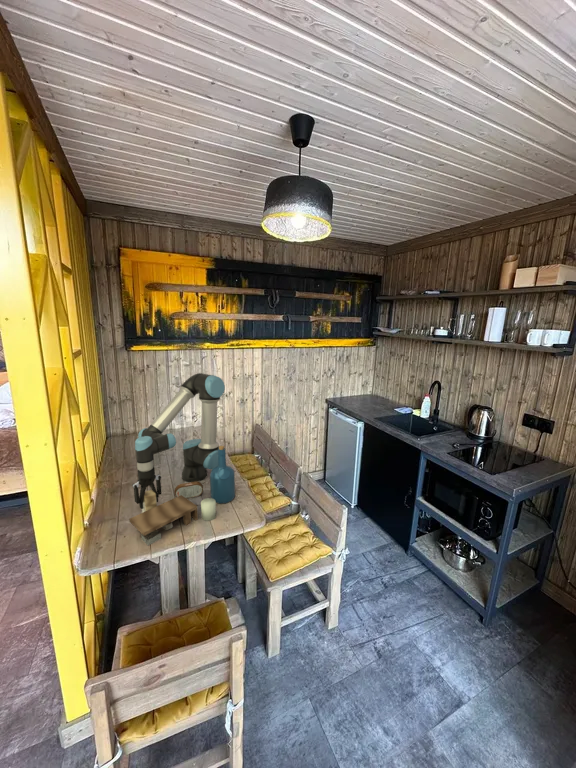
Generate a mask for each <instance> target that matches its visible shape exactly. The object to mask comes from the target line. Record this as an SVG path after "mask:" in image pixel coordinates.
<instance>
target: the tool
mask: <svg viewBox="0 0 576 768" xmlns="http://www.w3.org/2000/svg"><path fill="white" fill-rule="evenodd" d="M144 502H145V509H146V511H147V510H150V509H152V508H154V507H156V506H158V504H157V505H156V493H155V492H153V491H152V489H149V490H145V495H144ZM161 528H163V529H164V530H165V531H168V530H170V529H172V528H173V521H172V522H170V523H168V524H166V525H164V526H162V527H161Z"/></svg>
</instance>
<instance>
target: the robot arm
mask: <svg viewBox="0 0 576 768" xmlns="http://www.w3.org/2000/svg"><path fill="white" fill-rule="evenodd" d="M225 390H226V385H225V382H224V380H223V379H222V378H221V377H219V376H217V375H214V374H209V373H208V374H207V373H199V372H198V373H195V374H193V375H192V376H190V377H188V378H187V379H186V380H185V381H184V382H183V383H182V384H181V386H179V390H178V391H177V393H176V394H175V395H174V396H173V397H172V399H171V400H170V401H169V403H168V404H167V405H166V406H165V407H164V408H163V410H162V411H160V413H159V414H158V415H157V417H156V418H154V420H153V421H152V422H151V424H150V425H149V426H148V427H145V428H142V429H140V431H139V432H138V434H137V435H138V436H137V437H138V438H136V439H135V441H134V450H135V457H136V469H137V477H138V478H137V482H135V483H132V485H131V487H132V488H133V496H134V502H135V503H136V504H137V505H139V508H140V509H141V513H143V512H145V511H146V509H145V502H144V495H145V492H146V491H147V488H148V487H150V490H152V491H153V492H155V493H156V505H157V506H158V503H159V497H160V495H162V483H161V479H162V476H161V475H160V474H157V475H156V474H155V460H154V455H156V454H159V453H162V452H165V451H167V450H171V449H172V448H175V446H176V444H177V439H176V437H175V435H174V434H173V433H166V434H163V433H164V432H165V430H166V429H167V428H168V427H169V425H170V424H171V423H172V422H173V420H175V418H176V417H177V416H178V415H179V413H180V412H181V411H182V409H184V407H185V406H186V405H187V403H188V402H189V401H190V400H191V399H194V398H195V396H197V395H198V399H199V401H201V424H200V426H201V427H200V430H201V431H200V438H192V439H189V440H187V441H184V442H183V444H182V452H183V469H182V472H181V479H182V481H184V482H185V483H190V482H200V481H203V480H204V479H206V478H208V470H210V471H211V470H212V469H213V468H215V467H216V466H218V455H217V454H218V449H219V446H220V444H219V443H218V442H217V430H218V428H217V426H218V425H217V424H218V402H219V401H220V400H221V397H222V396H223V394H224V392H225ZM207 469H208V470H207ZM154 482H155V483H154ZM139 485H140V491H139ZM155 485H156V486H155Z"/></svg>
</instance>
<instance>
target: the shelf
mask: <svg viewBox="0 0 576 768" xmlns="http://www.w3.org/2000/svg"><path fill="white" fill-rule="evenodd" d="M198 514H199V513H198V505H197V504H195V503H194V502H193V501H190V500H189V498H187V499H186V498H185V497H184V496H182V495H180V496H178V497H176V496H175V497H174V498H172V499H170V500H167V501H165V502H164V503H161V504H159V505H158V504H157V506H156V507H154V508H152V509H150V510H147V511H145V512H143V513H142V512H141V513H139V514H136V515H135V516H133V517H130V518H129V519H128V520H129V523H130V524H132V526H133V527H134V528H135V529H136V530H137V531H139V532H140V534H143V535H144V536H145V535H147V534H149V533H151V532H153V531H155V530H156V529H157V530H159V529H161V528H163V527H162V526H164V525H166V524H168V523H170V522H172V523H173V522H174V521H175V520H178V519H180V518H182V519H183V525H185V526H189V525H191V524H192V520H194V521H196V522H197V521H198V520H199V516H198Z"/></svg>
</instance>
